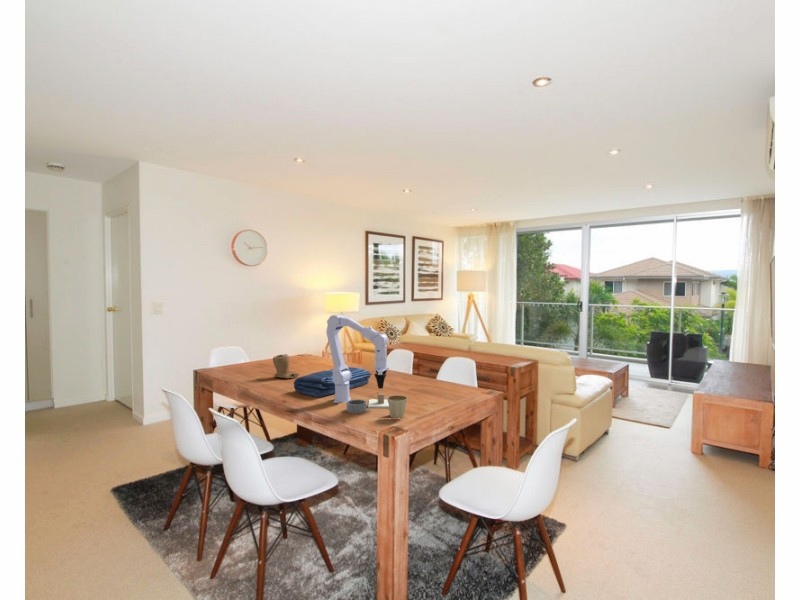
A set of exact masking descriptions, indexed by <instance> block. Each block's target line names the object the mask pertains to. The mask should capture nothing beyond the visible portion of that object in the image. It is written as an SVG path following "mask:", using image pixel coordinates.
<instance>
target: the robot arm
mask: <svg viewBox="0 0 800 600" xmlns="http://www.w3.org/2000/svg"><path fill="white" fill-rule="evenodd" d="M326 324H327V327H326V337H327V341H328V345H329V350H330V353H331V358H332V359H331V360H332V362H333V368H332V369H333V370H332V372H333V376H332V380H333V382H334V383H335V393H334V397H335V398H334V400H333V402H332V403H333V404H339V403H347V401H349V400H352V397H351V396H350V389H349V380H350V379H351V377H352V374H351V372H350V370H349V369H348V367H349V366H348V365H347V364H346V363H345V359H344V355H343V350H342V346H341V342H340V341H341V340H340V338H339V332H341V330H342V329H343V328H344V327H349V328H350V329H352V330H354V331H357V332H359V333H360V334H361V337H362V338H364V339H366V340H368V341H369V342H371V343H372V344H373V345H374V371H375V373H374V377H375V380H376V384H377V385H376V386H377V388H378V389H383V388H384V384H385V380H386V377H387V371H388V370H390V366H389V367H387V366H388V365H387V364H388V361H387V360H388V359H387V357H388V356H387V355H388V354H387V351H388V350H387V345H388V343H389V337H388V335H387V334H386V333H381V332H380V331H377V330H375V329H373V327H372V326H371V325H370V326H363V325H362V324H360V323H359V322H358V321H356V320H355V319H352V317H350V316H348V315H346V314H344V313H341V314H332V315H330V316H329V317H328V319H327V320H326Z"/></svg>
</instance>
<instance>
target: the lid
mask: <svg viewBox="0 0 800 600" xmlns="http://www.w3.org/2000/svg"><path fill="white" fill-rule="evenodd" d="M368 401H369V404H368V403H367V405H368V408H367V409H389V403H388V400H387V398H386V399H385V393H382V392H380V393H377V398H376V399H375V398H374V399H372V398H371V399H369V400H368Z"/></svg>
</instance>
